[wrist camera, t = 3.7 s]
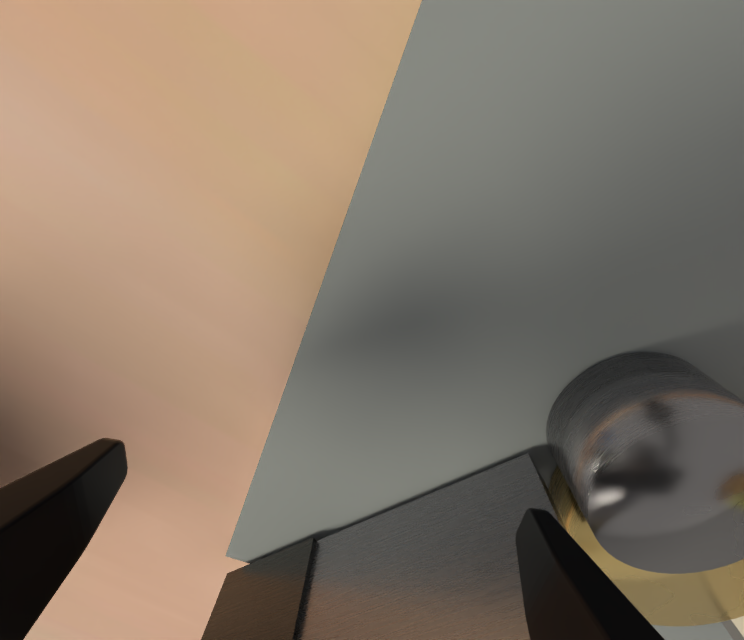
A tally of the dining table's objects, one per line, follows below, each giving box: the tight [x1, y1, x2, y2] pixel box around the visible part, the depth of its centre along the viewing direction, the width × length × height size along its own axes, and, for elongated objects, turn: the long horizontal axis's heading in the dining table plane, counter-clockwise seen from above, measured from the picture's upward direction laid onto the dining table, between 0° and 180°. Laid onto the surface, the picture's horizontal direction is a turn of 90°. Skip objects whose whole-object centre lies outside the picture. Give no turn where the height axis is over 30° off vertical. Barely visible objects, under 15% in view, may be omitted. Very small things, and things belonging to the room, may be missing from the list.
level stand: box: [226, 0, 744, 640], centre depth 12 cm, size 22×26×4 cm
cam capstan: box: [201, 352, 744, 640], centre depth 12 cm, size 9×18×5 cm, turn 122°
